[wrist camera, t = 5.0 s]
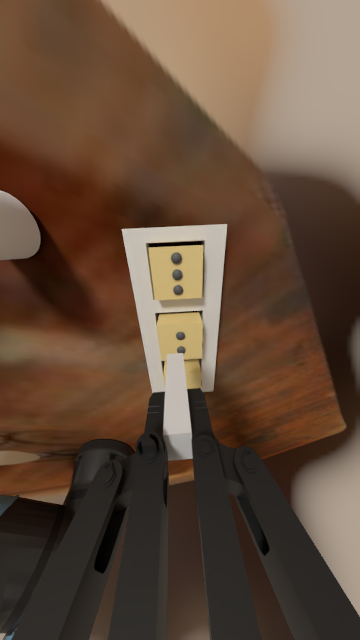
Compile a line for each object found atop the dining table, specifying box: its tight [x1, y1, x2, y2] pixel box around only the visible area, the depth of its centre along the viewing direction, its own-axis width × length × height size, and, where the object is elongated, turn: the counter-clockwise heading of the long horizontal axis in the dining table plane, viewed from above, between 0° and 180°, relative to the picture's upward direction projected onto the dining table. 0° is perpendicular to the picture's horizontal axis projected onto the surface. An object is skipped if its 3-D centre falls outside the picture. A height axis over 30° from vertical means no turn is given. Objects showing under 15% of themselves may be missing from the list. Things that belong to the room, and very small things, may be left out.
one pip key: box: [163, 359, 202, 389], centre depth 26 cm, size 6×6×4 cm
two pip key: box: [157, 312, 203, 361], centre depth 22 cm, size 6×6×4 cm
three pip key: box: [148, 245, 204, 300], centre depth 19 cm, size 6×6×4 cm
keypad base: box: [122, 224, 227, 393], centre depth 24 cm, size 28×12×2 cm, turn 3°
